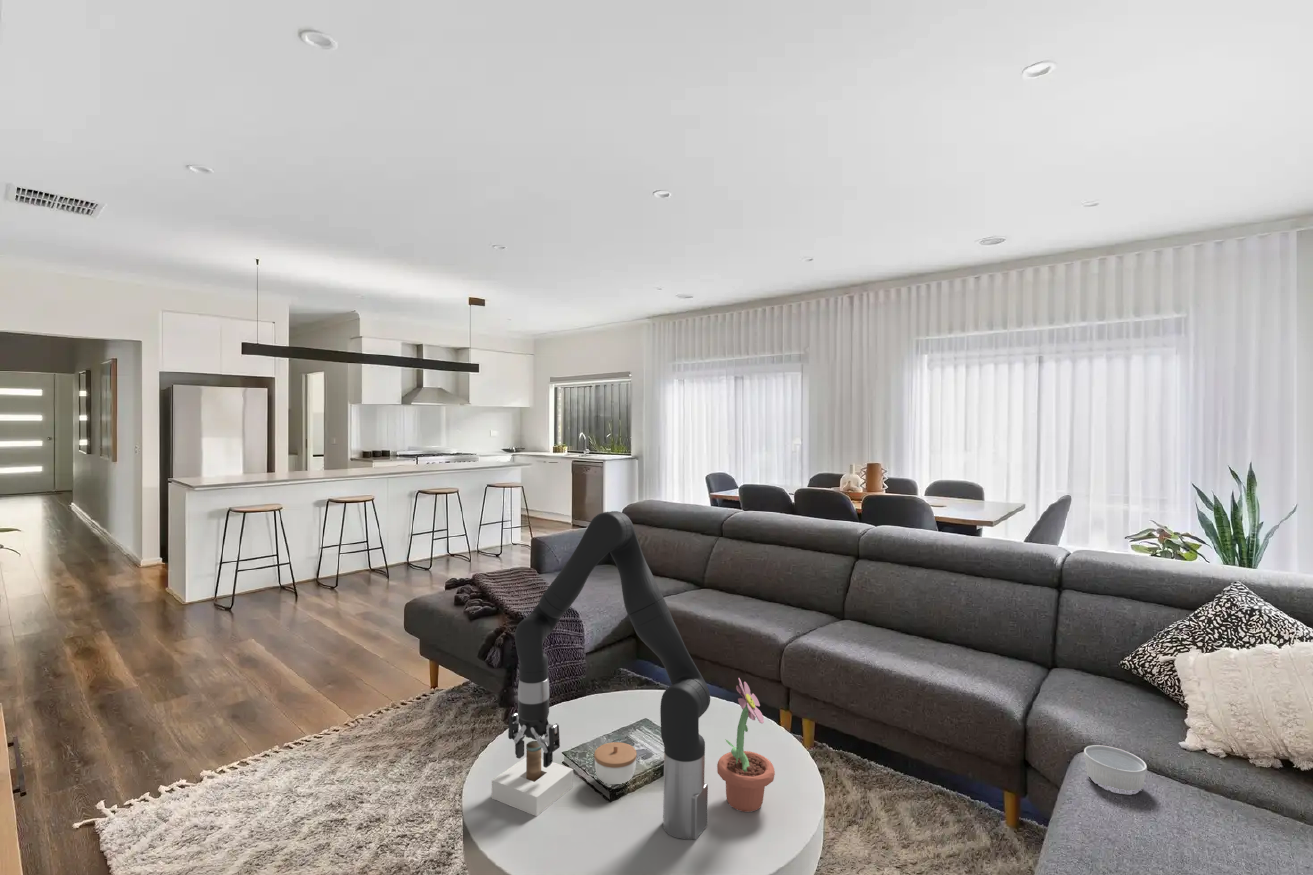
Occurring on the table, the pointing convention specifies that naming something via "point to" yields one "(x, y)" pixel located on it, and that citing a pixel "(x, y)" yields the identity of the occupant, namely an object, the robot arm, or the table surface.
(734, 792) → the decorative flower
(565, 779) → the socket block
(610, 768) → the lidded jar
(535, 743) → the walnut dowel
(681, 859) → the table surface
